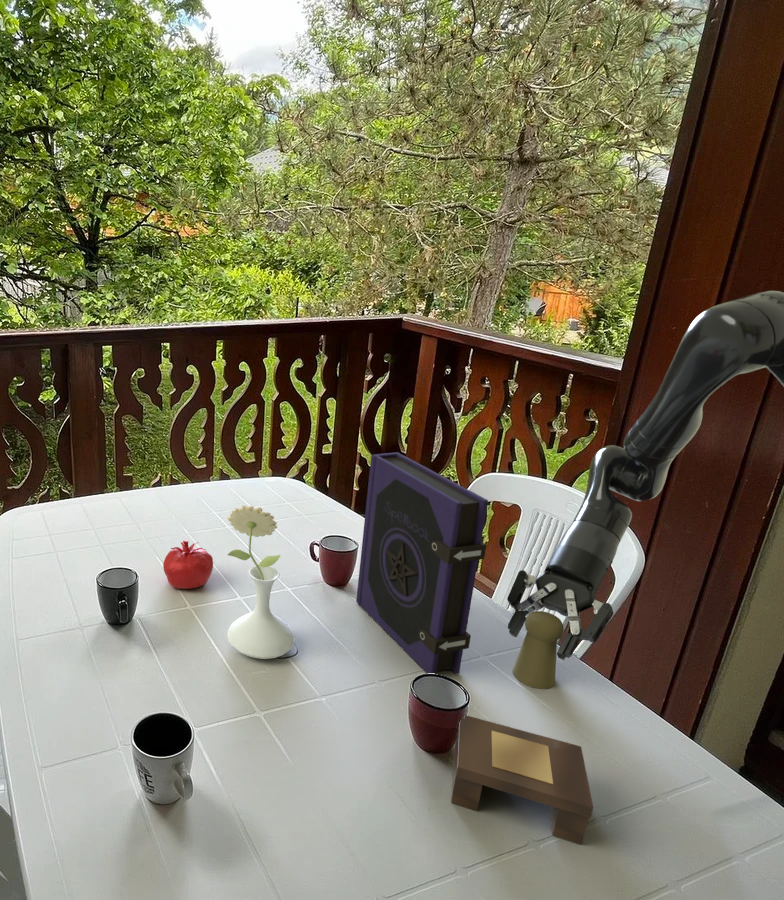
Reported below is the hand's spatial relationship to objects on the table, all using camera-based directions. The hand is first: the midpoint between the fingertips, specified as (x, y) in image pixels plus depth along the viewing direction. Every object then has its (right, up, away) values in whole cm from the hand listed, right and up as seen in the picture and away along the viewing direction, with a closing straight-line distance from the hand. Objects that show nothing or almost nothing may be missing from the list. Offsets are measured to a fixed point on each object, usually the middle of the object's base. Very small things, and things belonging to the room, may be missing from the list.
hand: (535, 645), depth 98 cm
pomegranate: (-54, +3, +30) cm, 62 cm away
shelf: (-13, -13, -19) cm, 27 cm away
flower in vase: (-42, -3, +11) cm, 44 cm away
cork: (+1, -6, +3) cm, 7 cm away
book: (-16, -2, +13) cm, 21 cm away
